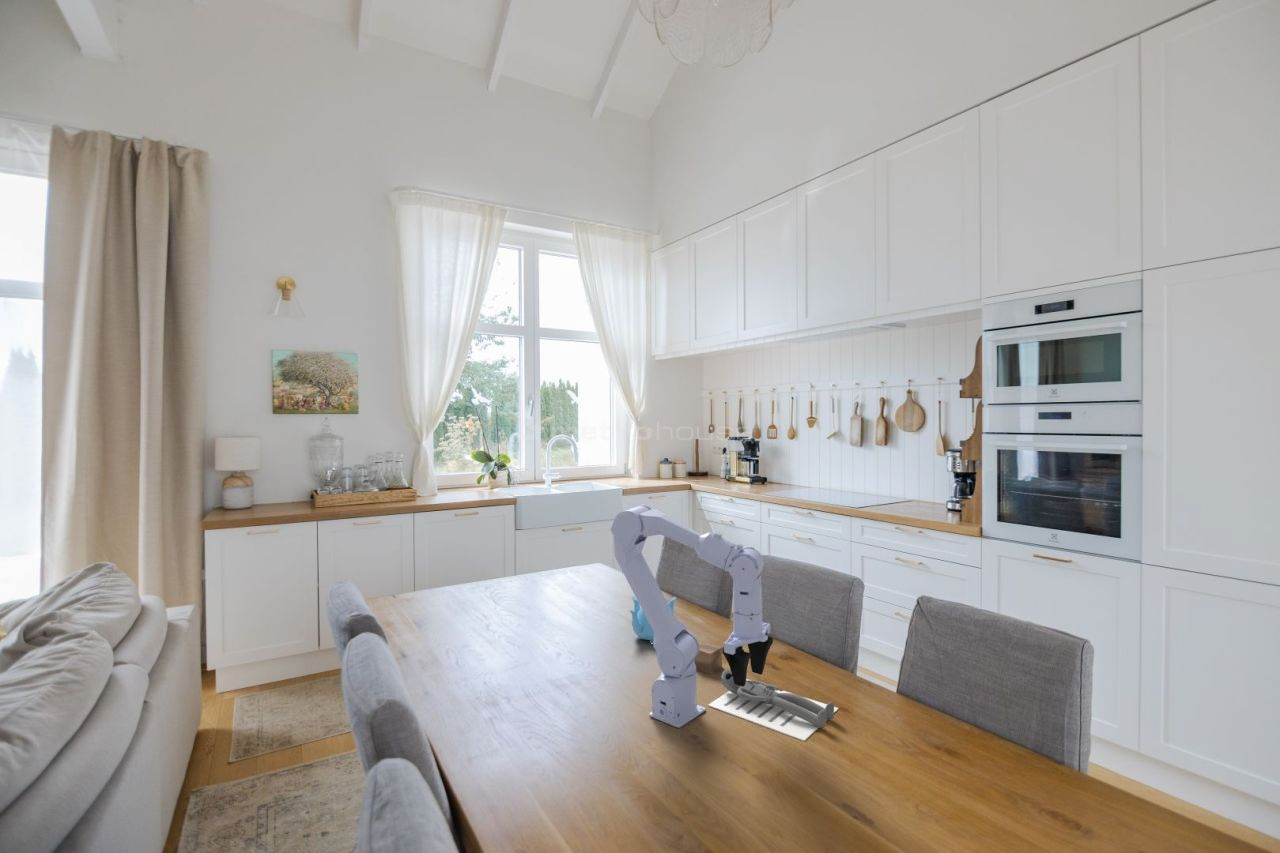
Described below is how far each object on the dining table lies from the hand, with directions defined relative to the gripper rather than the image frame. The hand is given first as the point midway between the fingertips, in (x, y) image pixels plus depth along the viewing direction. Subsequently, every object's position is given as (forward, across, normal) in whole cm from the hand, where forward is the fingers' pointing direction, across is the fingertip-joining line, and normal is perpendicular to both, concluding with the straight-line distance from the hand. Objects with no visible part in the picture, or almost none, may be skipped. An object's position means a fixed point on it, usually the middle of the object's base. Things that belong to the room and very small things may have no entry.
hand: (748, 678), depth 118 cm
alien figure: (+9, +10, 0) cm, 13 cm away
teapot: (+10, +24, +45) cm, 52 cm away
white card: (+9, +10, 0) cm, 13 cm away
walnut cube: (+10, +18, +22) cm, 30 cm away
